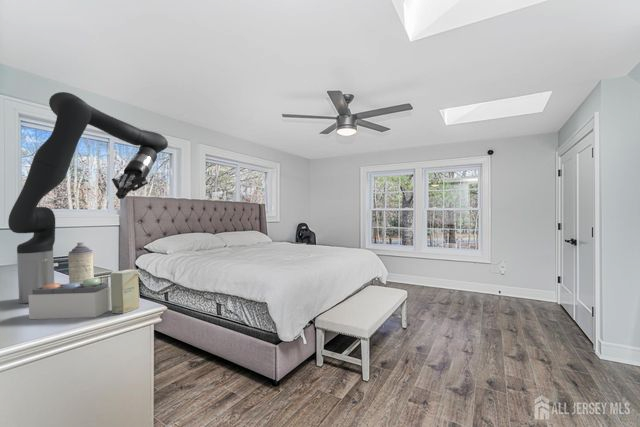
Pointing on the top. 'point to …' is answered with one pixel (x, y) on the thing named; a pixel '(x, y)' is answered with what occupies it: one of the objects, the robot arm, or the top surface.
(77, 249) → the aerosol can
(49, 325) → the top surface
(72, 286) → the slate blue button
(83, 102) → the robot arm
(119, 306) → the skincare box
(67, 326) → the top surface
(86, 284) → the sage button
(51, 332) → the top surface
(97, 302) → the button console
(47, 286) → the terracotta button
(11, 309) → the top surface
